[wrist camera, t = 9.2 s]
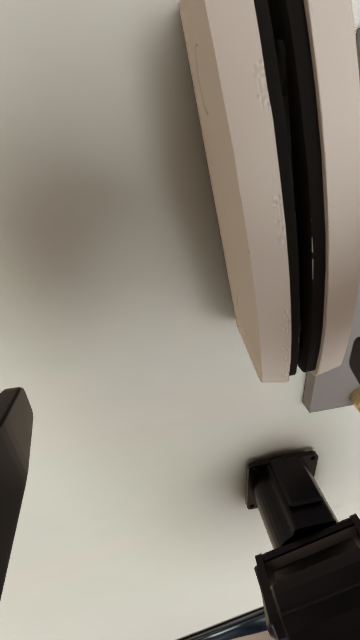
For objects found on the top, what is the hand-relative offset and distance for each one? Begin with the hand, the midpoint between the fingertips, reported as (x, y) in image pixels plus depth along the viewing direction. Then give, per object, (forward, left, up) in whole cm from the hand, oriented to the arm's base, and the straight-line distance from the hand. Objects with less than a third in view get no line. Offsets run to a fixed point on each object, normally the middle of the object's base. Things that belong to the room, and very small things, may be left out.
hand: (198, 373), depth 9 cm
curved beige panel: (+2, -6, -13) cm, 14 cm away
